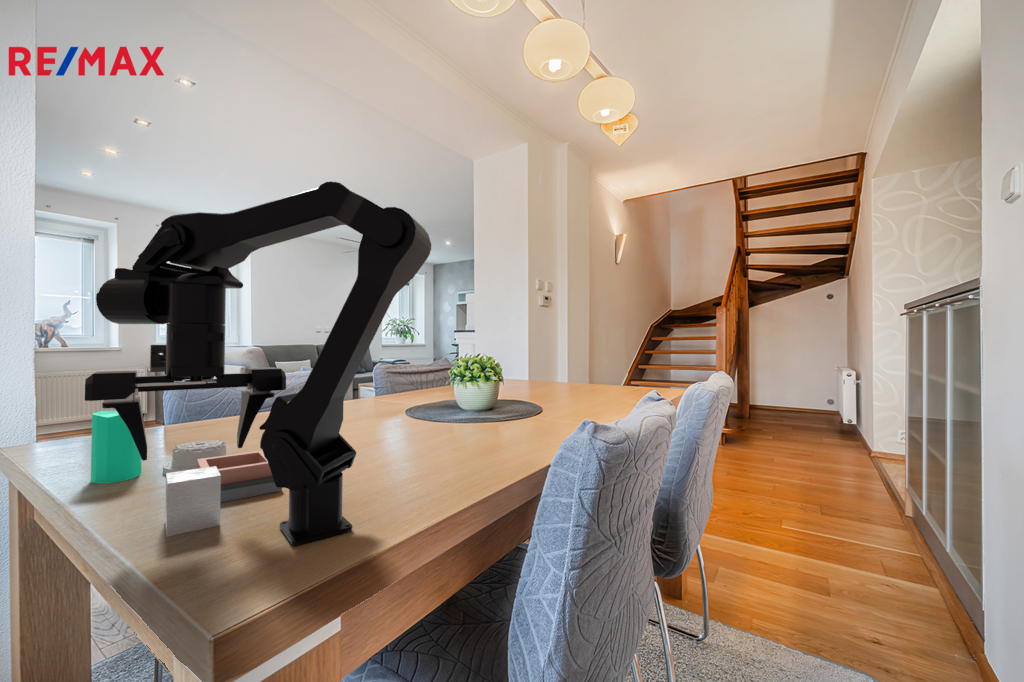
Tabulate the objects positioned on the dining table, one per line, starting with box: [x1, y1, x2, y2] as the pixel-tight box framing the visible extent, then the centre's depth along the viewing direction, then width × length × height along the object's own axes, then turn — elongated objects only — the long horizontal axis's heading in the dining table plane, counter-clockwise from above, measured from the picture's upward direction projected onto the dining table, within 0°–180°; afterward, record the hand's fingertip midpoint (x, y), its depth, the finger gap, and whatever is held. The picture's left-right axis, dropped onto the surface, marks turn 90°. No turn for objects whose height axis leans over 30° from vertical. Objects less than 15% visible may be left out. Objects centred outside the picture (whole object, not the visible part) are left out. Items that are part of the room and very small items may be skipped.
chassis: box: [197, 450, 283, 503], centre depth 64 cm, size 12×10×4 cm
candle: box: [90, 410, 144, 484], centre depth 68 cm, size 6×6×12 cm
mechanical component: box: [162, 439, 227, 476], centre depth 74 cm, size 10×4×10 cm
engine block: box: [164, 466, 221, 538], centre depth 51 cm, size 5×5×6 cm
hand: (194, 453), depth 51 cm, fingers open, 9 cm apart
